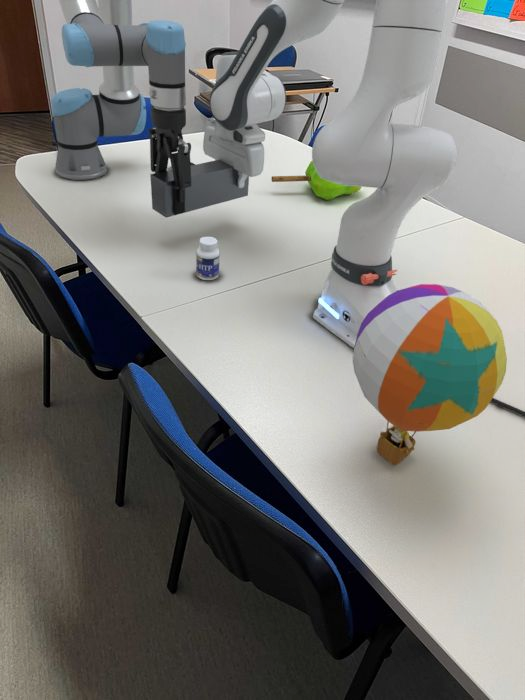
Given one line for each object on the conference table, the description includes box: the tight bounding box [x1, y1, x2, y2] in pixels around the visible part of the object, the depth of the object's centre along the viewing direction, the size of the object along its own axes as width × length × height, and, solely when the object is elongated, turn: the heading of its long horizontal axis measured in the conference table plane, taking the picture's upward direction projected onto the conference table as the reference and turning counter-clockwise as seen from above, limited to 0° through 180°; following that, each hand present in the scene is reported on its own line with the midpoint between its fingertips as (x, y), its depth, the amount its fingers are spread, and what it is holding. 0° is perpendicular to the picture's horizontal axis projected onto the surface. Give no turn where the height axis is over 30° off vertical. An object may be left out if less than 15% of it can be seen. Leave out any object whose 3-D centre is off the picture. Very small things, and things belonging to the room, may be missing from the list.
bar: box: [149, 159, 250, 218], centre depth 129 cm, size 26×6×9 cm, turn 132°
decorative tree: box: [271, 160, 362, 201], centre depth 161 cm, size 18×10×30 cm
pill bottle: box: [195, 236, 221, 281], centre depth 118 cm, size 5×5×9 cm
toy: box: [352, 283, 508, 467], centre depth 73 cm, size 20×20×30 cm
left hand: (171, 208), depth 126 cm, fingers closed on bar, 6 cm apart
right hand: (231, 182), depth 134 cm, fingers closed on bar, 6 cm apart
